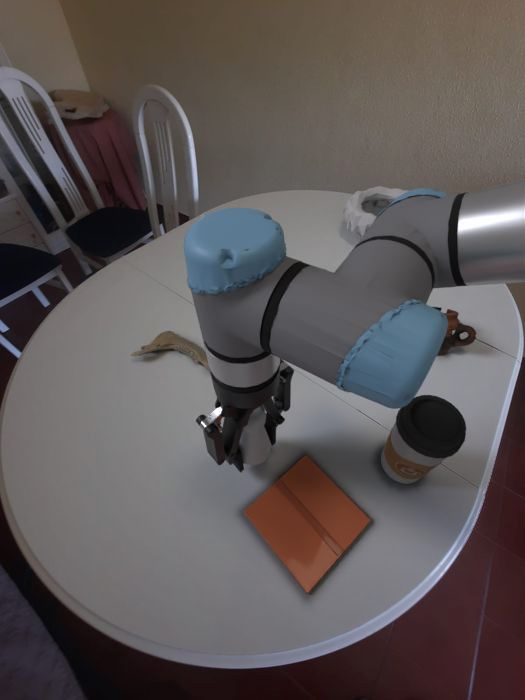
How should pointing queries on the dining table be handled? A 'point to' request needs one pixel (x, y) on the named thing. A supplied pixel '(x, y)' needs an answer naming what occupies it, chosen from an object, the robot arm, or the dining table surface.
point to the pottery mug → (458, 328)
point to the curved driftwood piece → (175, 347)
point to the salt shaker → (255, 439)
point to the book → (307, 521)
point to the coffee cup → (422, 438)
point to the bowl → (368, 206)
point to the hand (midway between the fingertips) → (253, 450)
